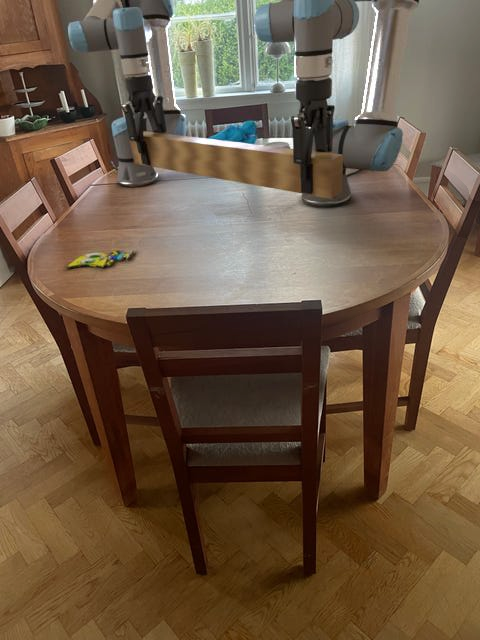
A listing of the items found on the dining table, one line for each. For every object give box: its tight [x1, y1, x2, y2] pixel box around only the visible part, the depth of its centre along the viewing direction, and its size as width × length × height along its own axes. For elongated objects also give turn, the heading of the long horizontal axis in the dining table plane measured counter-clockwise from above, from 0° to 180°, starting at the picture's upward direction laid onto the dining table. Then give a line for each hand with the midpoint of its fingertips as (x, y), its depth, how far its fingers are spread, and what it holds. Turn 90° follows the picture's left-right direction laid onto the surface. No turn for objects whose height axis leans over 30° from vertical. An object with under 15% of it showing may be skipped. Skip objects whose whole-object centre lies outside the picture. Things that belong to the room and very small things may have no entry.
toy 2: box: [207, 120, 258, 144], centre depth 209 cm, size 17×11×30 cm
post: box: [130, 131, 343, 199], centre depth 125 cm, size 68×5×8 cm, turn 50°
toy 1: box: [66, 249, 134, 270], centre depth 125 cm, size 10×1×15 cm
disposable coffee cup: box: [264, 141, 291, 148], centre depth 169 cm, size 10×10×12 cm
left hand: (153, 161), depth 143 cm, fingers closed on post, 5 cm apart
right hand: (313, 189), depth 111 cm, fingers closed on post, 5 cm apart
